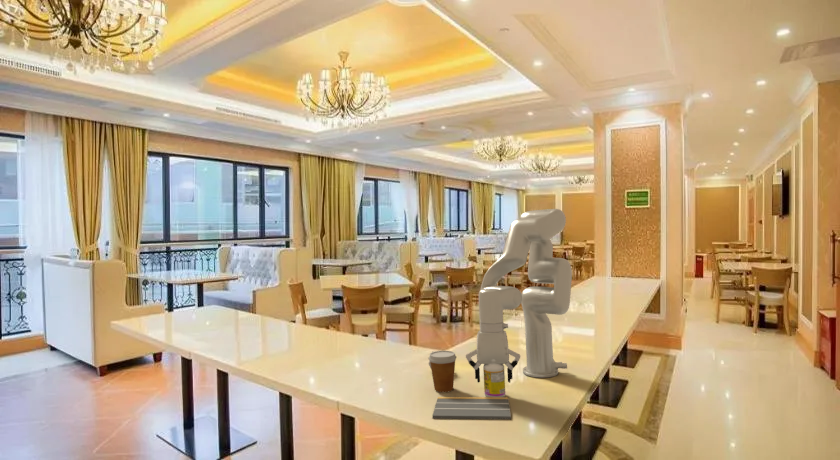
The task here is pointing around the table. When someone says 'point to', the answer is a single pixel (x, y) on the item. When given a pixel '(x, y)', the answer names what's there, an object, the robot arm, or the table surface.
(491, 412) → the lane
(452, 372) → the disposable coffee cup
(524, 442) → the table surface
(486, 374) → the supplement bottle
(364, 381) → the table surface
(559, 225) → the robot arm
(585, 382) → the table surface
